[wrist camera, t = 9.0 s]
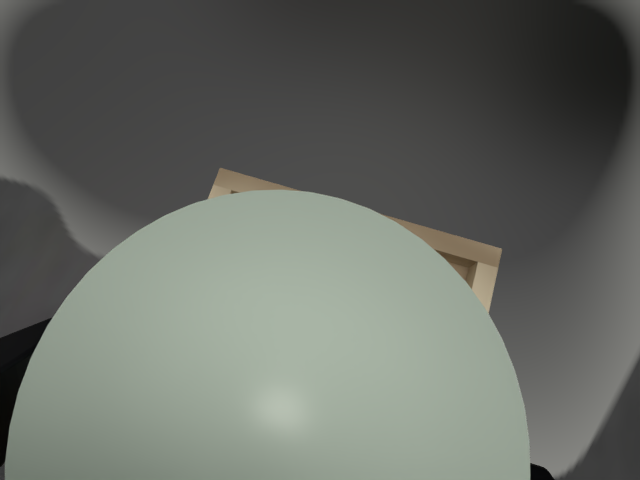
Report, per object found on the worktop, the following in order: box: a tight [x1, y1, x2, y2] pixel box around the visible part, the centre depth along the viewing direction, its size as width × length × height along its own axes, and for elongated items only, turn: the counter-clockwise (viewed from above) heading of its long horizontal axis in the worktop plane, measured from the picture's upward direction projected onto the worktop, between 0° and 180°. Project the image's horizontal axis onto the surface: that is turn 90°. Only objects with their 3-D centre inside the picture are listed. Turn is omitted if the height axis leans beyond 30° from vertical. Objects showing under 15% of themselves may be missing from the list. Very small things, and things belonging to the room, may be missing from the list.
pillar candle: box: [5, 190, 530, 480], centre depth 11 cm, size 6×6×13 cm
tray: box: [208, 168, 502, 313], centre depth 17 cm, size 14×12×2 cm
